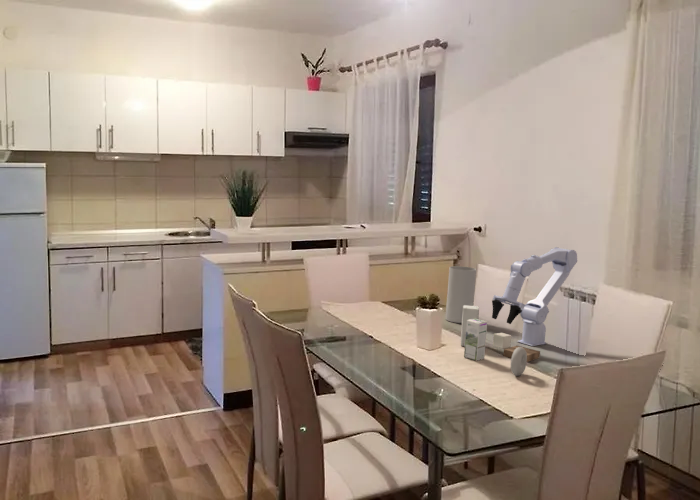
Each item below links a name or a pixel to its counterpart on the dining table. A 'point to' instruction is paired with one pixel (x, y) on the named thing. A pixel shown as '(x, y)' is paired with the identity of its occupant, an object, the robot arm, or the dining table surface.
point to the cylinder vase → (459, 291)
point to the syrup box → (475, 339)
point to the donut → (518, 361)
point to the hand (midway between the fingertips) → (501, 320)
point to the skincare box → (468, 313)
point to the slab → (530, 352)
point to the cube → (502, 340)
